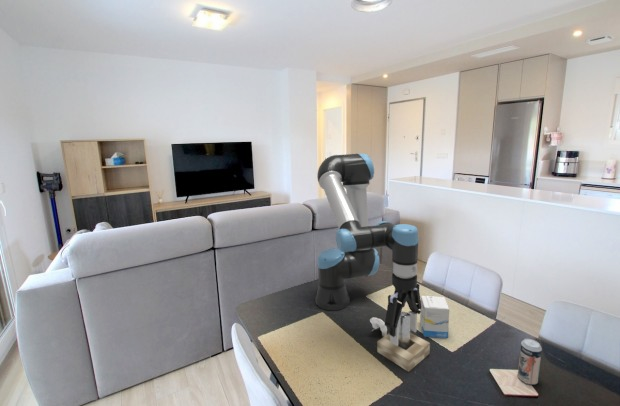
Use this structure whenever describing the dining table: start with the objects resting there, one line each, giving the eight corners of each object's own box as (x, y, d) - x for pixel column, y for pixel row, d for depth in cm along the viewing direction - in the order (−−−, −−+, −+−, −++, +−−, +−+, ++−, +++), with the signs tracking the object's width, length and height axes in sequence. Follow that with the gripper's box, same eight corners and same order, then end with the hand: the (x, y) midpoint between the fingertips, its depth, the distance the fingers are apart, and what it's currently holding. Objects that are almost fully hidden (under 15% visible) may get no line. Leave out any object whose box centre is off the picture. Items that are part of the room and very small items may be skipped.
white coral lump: (383, 332, 114) (393, 323, 111) (380, 344, 108) (390, 334, 105) (366, 318, 116) (375, 309, 113) (362, 329, 110) (371, 319, 107)
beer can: (513, 373, 89) (517, 338, 86) (528, 372, 89) (532, 336, 87) (526, 386, 84) (530, 349, 82) (542, 385, 84) (546, 347, 82)
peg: (394, 352, 100) (395, 314, 97) (401, 347, 102) (402, 310, 99) (405, 358, 97) (405, 320, 94) (412, 353, 99) (412, 315, 96)
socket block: (377, 351, 101) (377, 341, 100) (398, 336, 108) (398, 326, 107) (408, 372, 91) (408, 360, 91) (429, 353, 99) (429, 342, 98)
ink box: (448, 338, 105) (450, 308, 103) (423, 336, 107) (424, 307, 105) (443, 324, 114) (444, 296, 111) (419, 322, 115) (420, 294, 113)
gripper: (393, 289, 84) (392, 358, 89) (434, 266, 98) (432, 327, 102) (372, 281, 90) (372, 346, 95) (413, 260, 103) (412, 318, 108)
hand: (403, 336), depth 98 cm, fingers open, 9 cm apart
